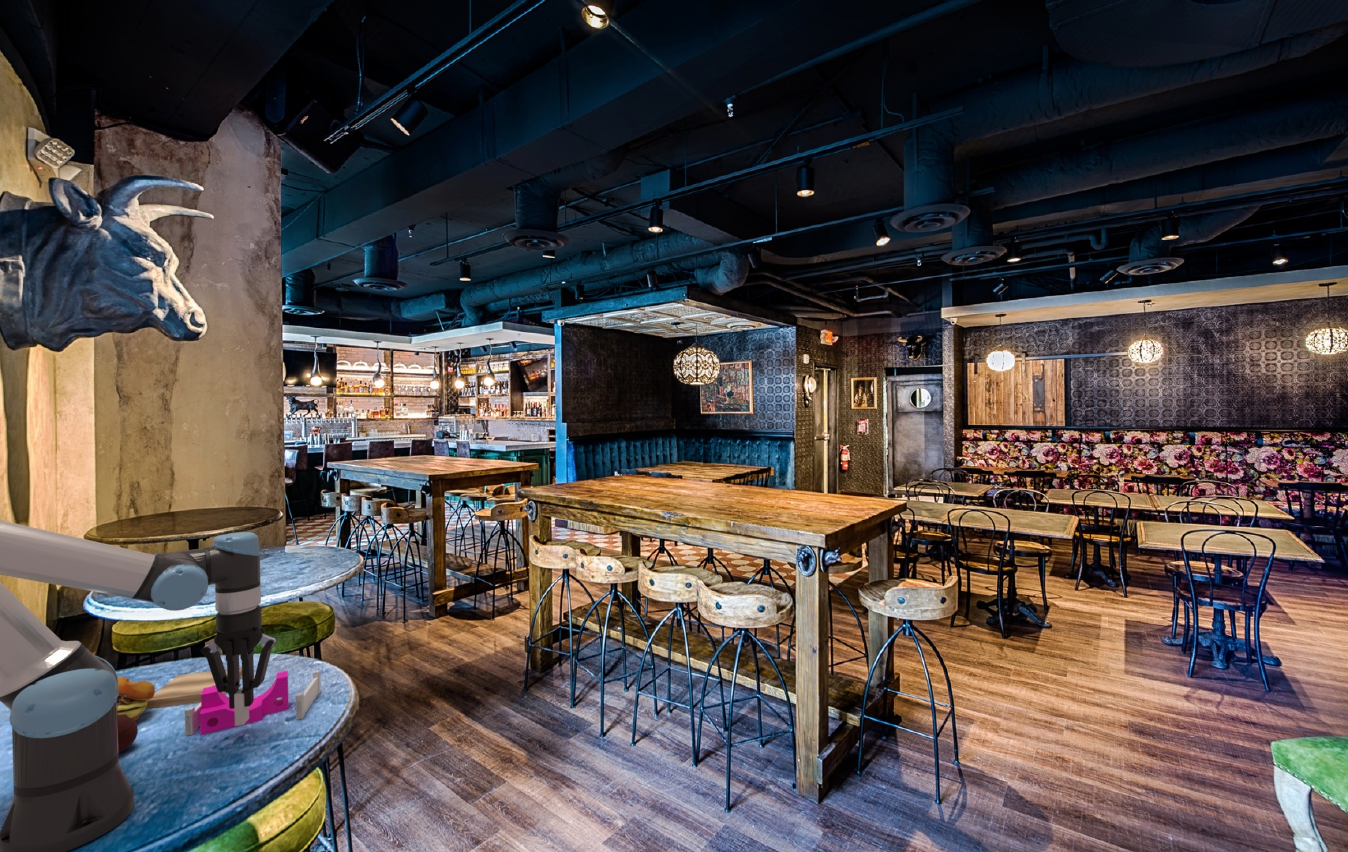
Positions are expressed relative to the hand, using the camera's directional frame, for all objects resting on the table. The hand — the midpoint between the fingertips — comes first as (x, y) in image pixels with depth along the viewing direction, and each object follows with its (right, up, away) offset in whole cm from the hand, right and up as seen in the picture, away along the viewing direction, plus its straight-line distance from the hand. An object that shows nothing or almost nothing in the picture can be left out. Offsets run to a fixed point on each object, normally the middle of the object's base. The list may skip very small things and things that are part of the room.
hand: (242, 721), depth 119 cm
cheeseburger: (-30, -3, +2) cm, 30 cm away
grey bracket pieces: (-3, -2, +8) cm, 9 cm away
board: (-25, -2, +19) cm, 31 cm away
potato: (-20, -3, -7) cm, 21 cm away
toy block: (-3, -2, +6) cm, 7 cm away
